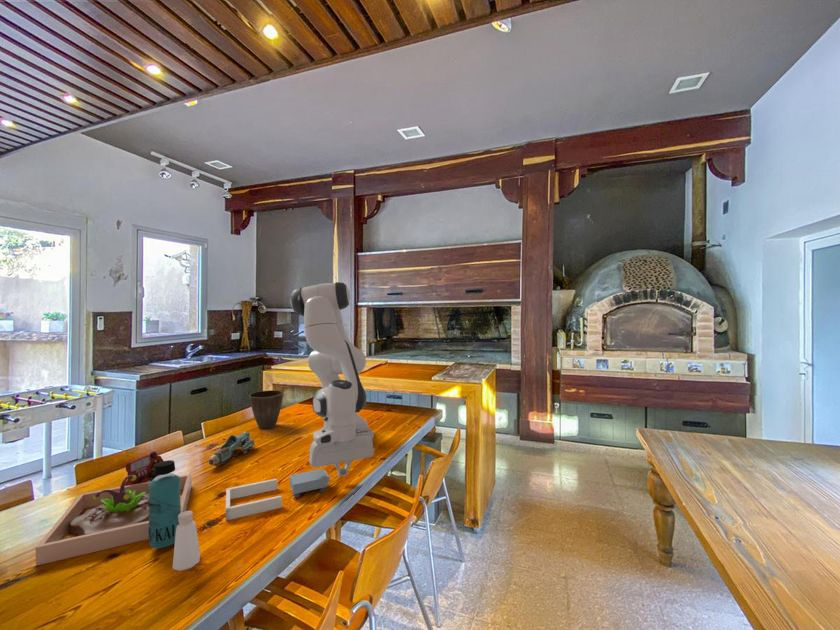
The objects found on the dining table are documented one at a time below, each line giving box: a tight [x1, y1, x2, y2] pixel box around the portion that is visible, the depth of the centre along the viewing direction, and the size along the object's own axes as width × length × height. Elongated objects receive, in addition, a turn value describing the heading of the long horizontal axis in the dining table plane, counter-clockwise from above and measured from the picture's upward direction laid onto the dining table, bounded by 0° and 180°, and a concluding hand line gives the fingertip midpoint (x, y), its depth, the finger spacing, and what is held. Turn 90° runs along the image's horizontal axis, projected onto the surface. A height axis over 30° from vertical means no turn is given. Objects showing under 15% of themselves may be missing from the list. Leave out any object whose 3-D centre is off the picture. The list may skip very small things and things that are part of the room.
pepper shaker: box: [172, 510, 201, 572], centre depth 82 cm, size 5×5×11 cm
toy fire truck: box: [125, 451, 164, 486], centre depth 118 cm, size 7×12×10 cm, turn 167°
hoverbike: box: [207, 430, 256, 466], centre depth 141 cm, size 10×25×8 cm, turn 175°
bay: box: [225, 478, 283, 522], centre depth 107 cm, size 14×13×3 cm
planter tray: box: [35, 473, 193, 567], centre depth 100 cm, size 27×27×4 cm
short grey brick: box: [289, 468, 331, 499], centre depth 114 cm, size 11×7×4 cm, turn 117°
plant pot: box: [249, 389, 284, 430], centre depth 178 cm, size 15×15×16 cm
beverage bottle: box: [148, 459, 182, 549], centre depth 88 cm, size 6×7×20 cm
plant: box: [69, 475, 149, 536], centre depth 100 cm, size 20×20×11 cm
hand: (342, 474), depth 119 cm, fingers closed
